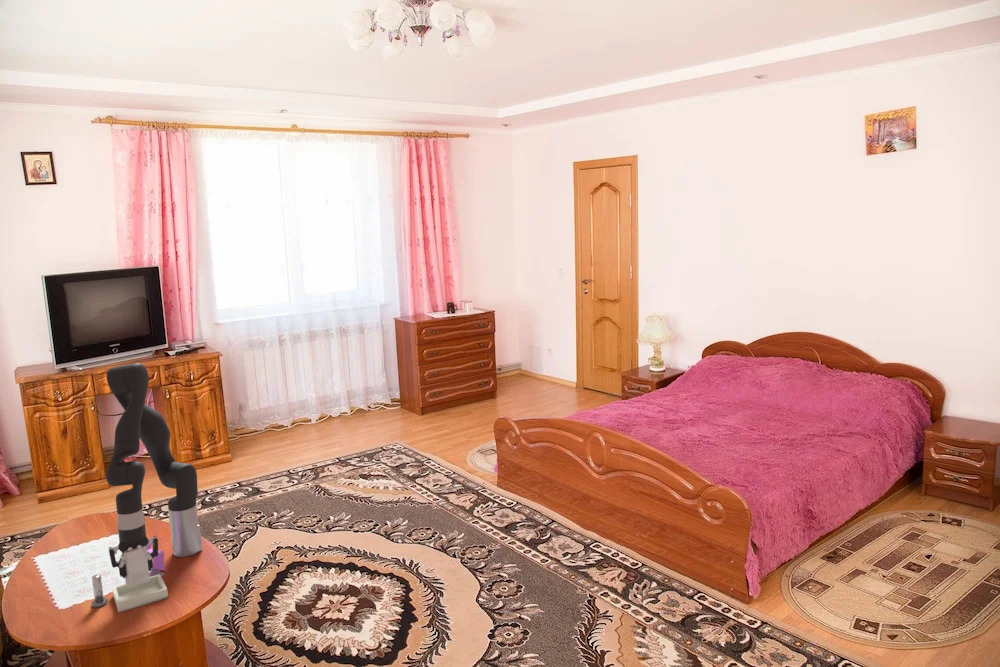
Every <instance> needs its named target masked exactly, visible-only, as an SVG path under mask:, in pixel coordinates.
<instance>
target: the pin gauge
mask: <svg viewBox="0 0 1000 667" xmlns="http://www.w3.org/2000/svg"><path fill="white" fill-rule="evenodd" d="M91 580H92V587H93V588H92V589H93V596H94V600H93V601H91V604H90V605H91V608H94V609H95V608H96V609H97V608H101V607H104V606H106V605H107V604H108V603H109V600H108V598H107V597H104V590H103V583H102V574H95V575H92V577H91Z"/></svg>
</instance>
